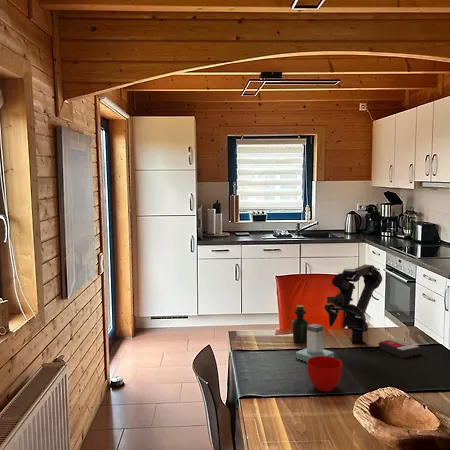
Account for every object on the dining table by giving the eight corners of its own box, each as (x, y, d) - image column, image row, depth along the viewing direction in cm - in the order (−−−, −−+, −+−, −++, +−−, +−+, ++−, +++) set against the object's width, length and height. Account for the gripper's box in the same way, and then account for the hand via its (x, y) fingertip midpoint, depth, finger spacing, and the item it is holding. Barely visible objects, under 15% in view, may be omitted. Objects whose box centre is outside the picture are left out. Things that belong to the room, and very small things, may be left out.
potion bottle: (311, 340, 234) (311, 305, 232) (304, 345, 227) (304, 308, 225) (295, 338, 238) (295, 303, 237) (289, 342, 231) (289, 306, 230)
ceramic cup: (344, 379, 188) (344, 354, 187) (340, 397, 172) (340, 370, 171) (311, 375, 192) (311, 351, 191) (304, 392, 176) (304, 366, 175)
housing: (314, 349, 213) (314, 323, 212) (323, 352, 209) (323, 325, 208) (307, 352, 210) (307, 325, 209) (316, 355, 206) (316, 328, 205)
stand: (312, 352, 218) (312, 345, 218) (334, 358, 209) (334, 352, 209) (295, 358, 210) (295, 352, 210) (317, 366, 201) (317, 359, 201)
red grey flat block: (396, 337, 227) (420, 345, 213) (396, 346, 227) (421, 354, 213) (378, 341, 222) (402, 349, 208) (378, 350, 222) (402, 358, 209)
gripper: (319, 288, 225) (311, 319, 220) (346, 287, 209) (337, 321, 204) (337, 297, 229) (329, 327, 224) (364, 296, 213) (356, 330, 208)
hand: (337, 326), depth 215 cm, fingers open, 9 cm apart
